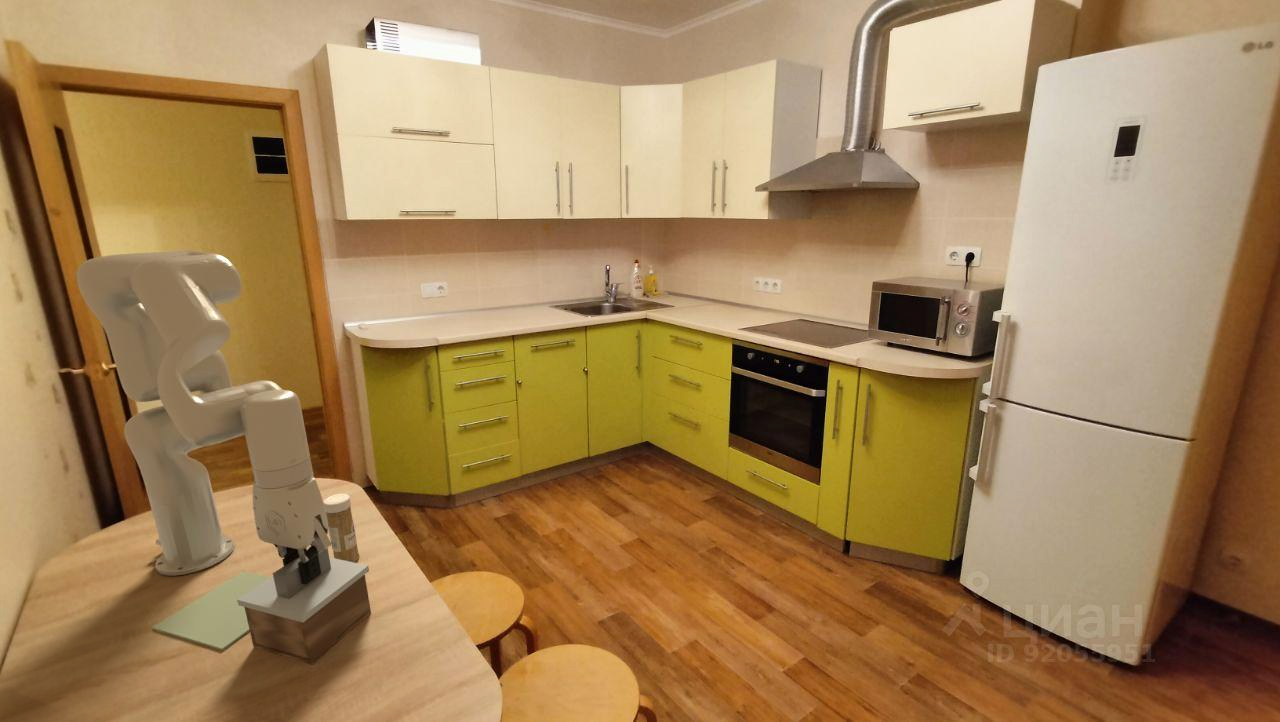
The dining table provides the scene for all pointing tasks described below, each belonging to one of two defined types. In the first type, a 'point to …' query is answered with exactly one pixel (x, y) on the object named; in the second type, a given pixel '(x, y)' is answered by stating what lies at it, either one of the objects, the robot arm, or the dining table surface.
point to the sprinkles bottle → (341, 527)
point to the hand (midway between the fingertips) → (304, 576)
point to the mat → (214, 614)
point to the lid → (303, 588)
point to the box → (311, 626)
